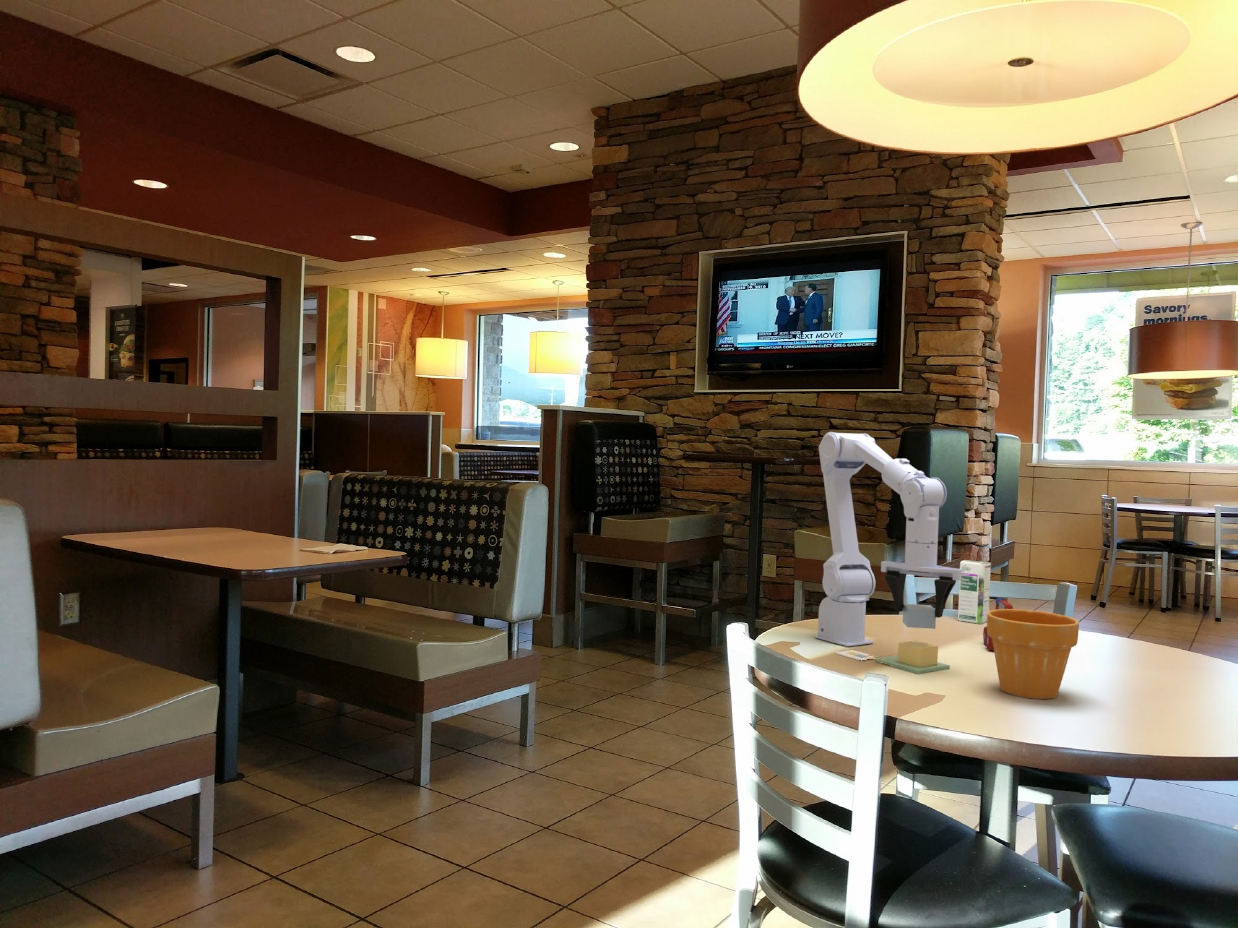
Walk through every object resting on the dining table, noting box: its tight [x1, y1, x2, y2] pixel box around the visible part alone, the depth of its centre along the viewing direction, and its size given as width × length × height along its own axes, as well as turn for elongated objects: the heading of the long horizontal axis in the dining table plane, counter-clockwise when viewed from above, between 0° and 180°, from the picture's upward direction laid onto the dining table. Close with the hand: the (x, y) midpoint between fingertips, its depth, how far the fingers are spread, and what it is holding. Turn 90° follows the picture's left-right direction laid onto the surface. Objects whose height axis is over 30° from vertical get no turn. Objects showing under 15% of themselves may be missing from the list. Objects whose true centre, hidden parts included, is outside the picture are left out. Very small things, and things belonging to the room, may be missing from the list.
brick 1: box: [902, 603, 937, 630], centre depth 168 cm, size 5×5×4 cm
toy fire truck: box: [982, 596, 1014, 652], centre depth 186 cm, size 7×12×10 cm, turn 165°
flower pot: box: [986, 608, 1080, 700], centre depth 152 cm, size 14×14×13 cm
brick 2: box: [897, 640, 939, 667], centre depth 168 cm, size 5×5×4 cm
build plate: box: [874, 655, 951, 675], centre depth 169 cm, size 10×9×1 cm
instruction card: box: [834, 649, 874, 662], centre depth 175 cm, size 7×5×1 cm
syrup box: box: [957, 559, 992, 625], centre depth 216 cm, size 6×6×14 cm
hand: (918, 613), depth 168 cm, fingers closed on brick 1, 7 cm apart
